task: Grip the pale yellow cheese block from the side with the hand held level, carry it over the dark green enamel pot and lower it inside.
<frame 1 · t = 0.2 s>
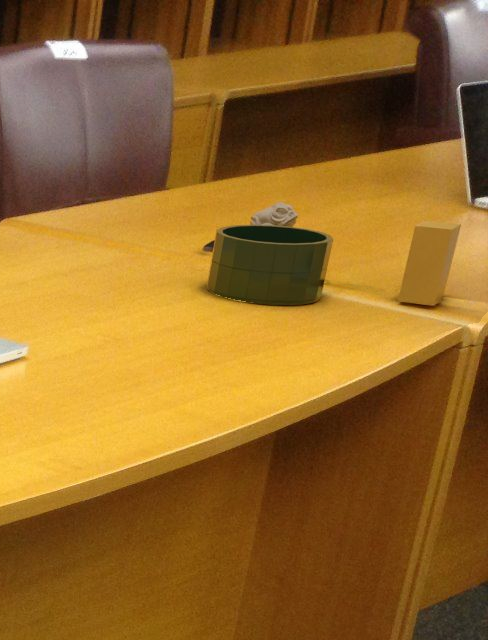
frog figurine: (266, 249, 240), on the table
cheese: (420, 300, 207), on the table
pot: (262, 293, 211), on the table
smartphone: (257, 256, 234), on the table
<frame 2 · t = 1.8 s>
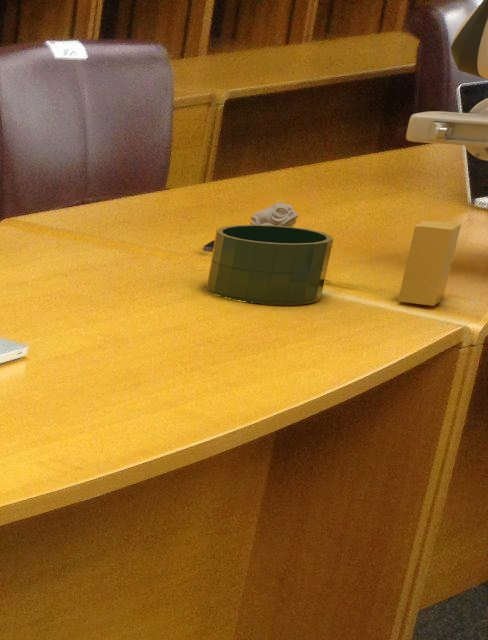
hand: (477, 137, 206), 20 cm above the table, tool horizontal, fingers open, 8 cm apart
nothing on the table moved.
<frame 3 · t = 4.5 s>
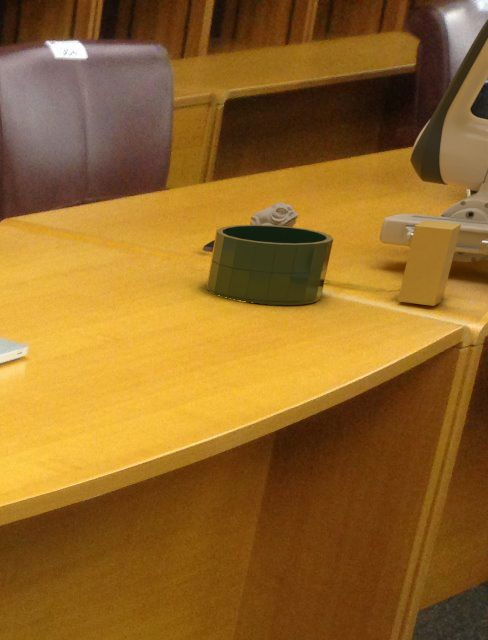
hand: (448, 243, 210), 6 cm above the table, tool horizontal, fingers open, 8 cm apart
nothing on the table moved.
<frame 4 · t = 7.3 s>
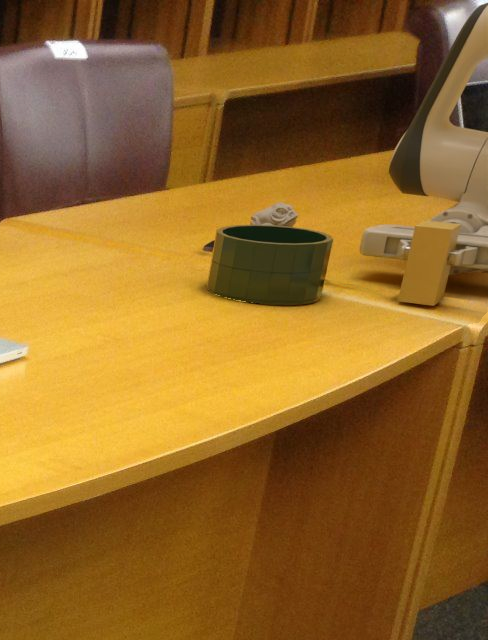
hand: (429, 256, 204), 6 cm above the table, tool horizontal, fingers closed on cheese, 4 cm apart
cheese: (420, 300, 207), on the table, touching gripper
everything else where it was.
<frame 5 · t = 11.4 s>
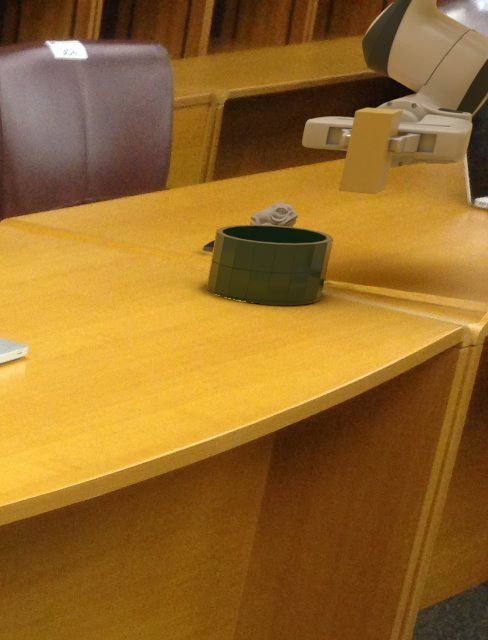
hand: (370, 143, 199), 20 cm above the table, tool horizontal, fingers closed on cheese, 4 cm apart
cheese: (361, 190, 203), point 14 cm above the table, touching gripper
everything else where it was.
when the fingers open (11 cm above the table, at t = 15.8 s): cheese drops 5 cm, resting on pot.
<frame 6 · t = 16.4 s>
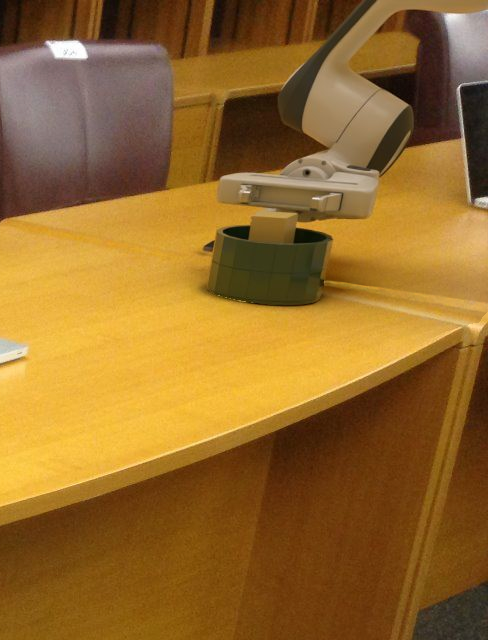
hand: (279, 201, 205), 12 cm above the table, tool horizontal, fingers open, 8 cm apart
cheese: (263, 289, 211), point 1 cm above the table, touching pot
everything else where it was.
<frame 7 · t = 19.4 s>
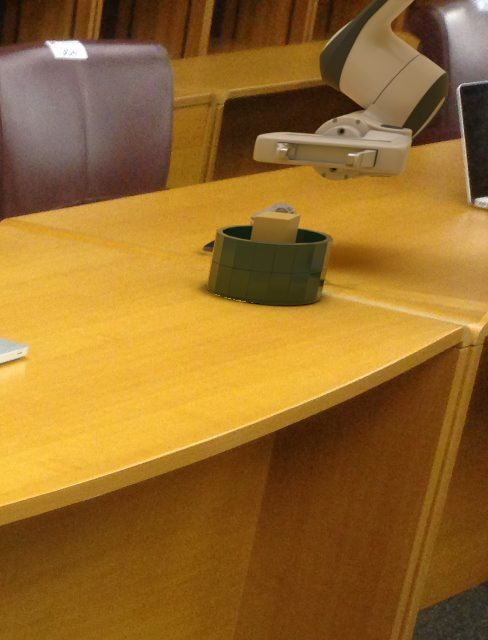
hand: (315, 157, 211), 17 cm above the table, tool horizontal, fingers open, 8 cm apart
nothing on the table moved.
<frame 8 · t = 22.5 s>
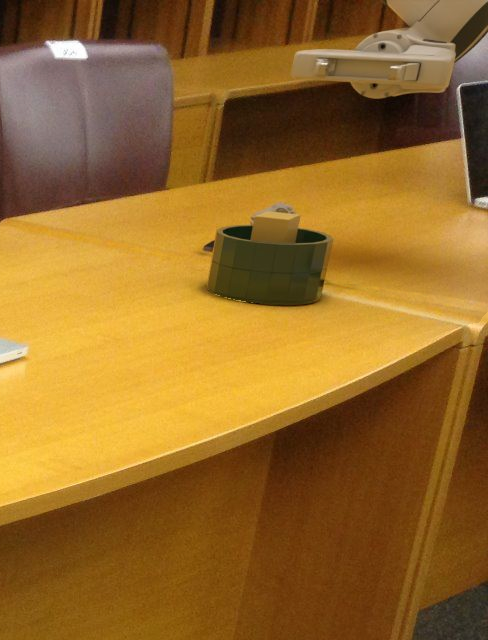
hand: (357, 71, 206), 28 cm above the table, tool horizontal, fingers open, 8 cm apart
nothing on the table moved.
at the end: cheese inside the target area in the pot (0.0 cm from its centre), point 0.5 cm above the pot's base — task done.
